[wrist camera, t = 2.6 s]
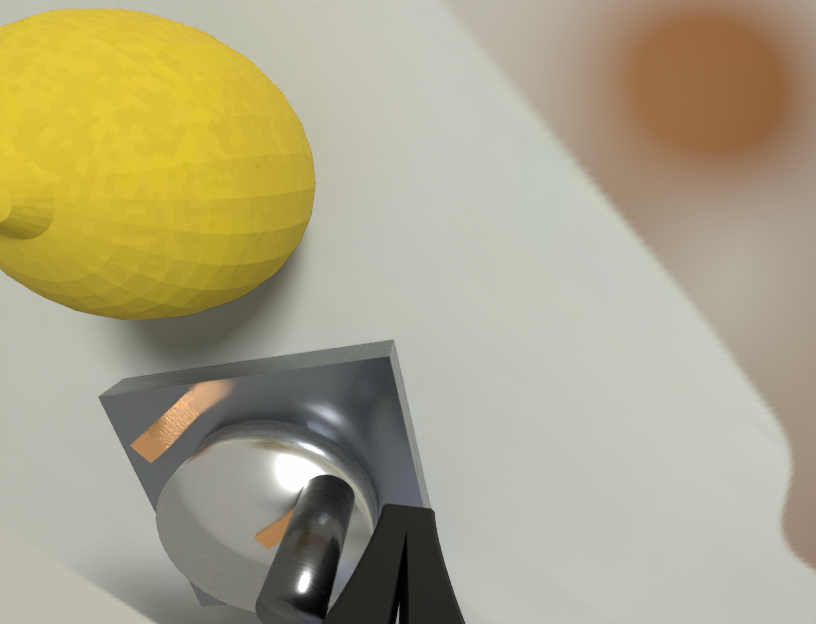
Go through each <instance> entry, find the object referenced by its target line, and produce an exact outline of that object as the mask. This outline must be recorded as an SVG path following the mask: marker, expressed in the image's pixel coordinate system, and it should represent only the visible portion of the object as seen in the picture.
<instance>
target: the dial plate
mask: <svg viewBox="0 0 816 624" xmlns="http://www.w3.org/2000/svg"><path fill="white" fill-rule="evenodd" d="M99 399H100V401H101V403H102V405H103V407H104V409H105V411H106V413H107V416H108V418H109V420H110V422H111V424H112V426H113V428H114V430H115V432H116V434H117V436H118V438H119V440H120V442H121V444H122V446H123V448H124V450H125V452H126V454H127V456H128V458H129V460H130V462H131V464H132V466H133V468H134V470H135V472H136V474H137V476H138V478H139V480H140V482H141V484H142V486H143V488H144V490H145V492H146V494H147V496H148V498H149V500H150V502H151V505H152V507H153V509H154V511H155V513H156V509H157V503H158V500H159V496H160V494H161V492H162V490H163V488H164V486H165V484H166V483H167V482H168V480H169V479H170V478H171V476H172V475H173V474H174V473H175V472H176V470H177V469H178V468H179V467H180V466H181V464H182V463H183V462H184V461H185V460H186V458H187V457H188V456H189V455H190V454H191V452H192V451H193V450H194V449H195V448H196V446H197V445H198V444H199V443H200V442H201V441H202V440H203V439H205V438H206V437H207V436H209V435H210V434H212V433H213V432H215V431H217V430H219V429H221V428H223V427H226V426H229V425H232V424H235V423H239V422H245V421H253V420H273V421H281V422H287V423H292V424H295V425H299V426H303V427H305V428H308V429H310V430H313V431H316V432H318V433H320V434H322V435H323V436H325V437H327V438H329V439H331V440H332V441H334V442H335V443H337V444H338V445H339V446H341V447H342V448H343V449H344V450H346V451H347V452H348V453H349V454H350V455H351V456H352V457H353V458H354V459H355V460H356V461H357V462H358V463H359V464H360V466H361V467H362V469H363V470H364V472H365V473H366V474H367V476H368V478H369V480H370V482H371V484H372V486H373V489H374V492H375V495H376V500H377V505H378V518H377V522H378V519H379V517H380V514H381V510H382V507H383V506H384V505H385V504H387V503H389V504H397V505H406V506H414V507H423V508H431V507H430V503H429V498H428V493H427V489H426V484H425V480H424V475H423V471H422V466H421V462H420V457H419V452H418V448H417V443H416V439H415V434H414V430H413V425H412V420H411V416H410V411H409V407H408V402H407V398H406V393H405V389H404V384H403V379H402V375H401V370H400V366H399V361H398V357H397V352H396V347H395V343H394V340H389V341H383V342H376V343H369V344H362V345H355V346H348V347H341V348H334V349H327V350H320V351H313V352H307V353H300V354H293V355H286V356H279V357H272V358H265V359H258V360H251V361H244V362H237V363H230V364H224V365H217V366H210V367H203V368H196V369H189V370H182V371H175V372H168V373H161V374H154V375H148V376H141V377H134V378H127V379H122V380H121V381H120V382H118V383H117V384H115V385H114V386H113V387H111V388H110V389H108V390H107V391H106V392H104V393H103V394H101V395H100V396H99ZM189 581H190V580H189ZM190 583H191V585H192V587H193V589H194V592H195V594H196V596H197V598H198V600H199V602H200V604H201V606H210V605H226V604H227V603H224V602H222V601H220V600H218V599H216V598H214V597H213V596H211V595H209V594H207V593H206V592H204V591H203V590H201V589H200V588H199V587H197V586H196V585H195V584H193V583H192V582H191V581H190Z"/></svg>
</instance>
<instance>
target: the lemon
mask: <svg viewBox="0 0 816 624" xmlns="http://www.w3.org/2000/svg"><path fill="white" fill-rule="evenodd" d="M315 185H316V182H315V174H314V165H313V156H312V152H311V149H310V146H309V144H308V141H307V138H306V135H305V132H304V129H303V126H302V124H301V122H300V120H299V118H298V117H297V115H296V114H295V112H294V110H293V109H292V107H291V106H290V104H289V102H288V101H287V99H286V98H285V96H284V94H283V93H282V92H281V91H280V89H279V88H278V87H277V86H276V85H275V84H274V83H273V82H272V81H271V80H270V79H269V78H268V77H267V76H266V75H265V74H264V73H263V72H262V71H261V70H260V69H259V68H258V67H257V66H256V65H255V64H254V63H253V62H251V61H250V60H249V59H247V58H246V57H245V56H243V55H242V54H240V53H238V52H237V51H235V50H233V49H232V48H230V47H229V46H227V45H225V44H224V43H222V42H220V41H219V40H217V39H216V38H214V37H212V36H211V35H209V34H207V33H205V32H203V31H201V30H198V29H196V28H193V27H190V26H187V25H184V24H181V23H177V22H174V21H171V20H168V19H164V18H161V17H158V16H155V15H151V14H147V13H143V12H139V11H131V10H123V9H64V10H51V11H48V12H44V13H40V14H37V15H34V16H31V17H28V18H25V19H22V20H19V21H16V22H13V23H10V24H7V25H5V26H2V27H0V269H1V270H2V271H3V272H4V273H5V274H6V275H8V276H10V277H11V278H13V279H14V280H16V281H17V282H19V283H20V284H22V285H24V286H25V287H27V288H28V289H30V290H31V291H33V292H35V293H37V294H39V295H40V296H42V297H44V298H46V299H49V300H51V301H54V302H56V303H59V304H61V305H64V306H66V307H69V308H71V309H74V310H76V311H80V312H84V313H88V314H93V315H99V316H105V317H111V318H116V319H122V320H145V319H158V318H170V317H179V316H185V315H190V314H194V313H198V312H201V311H204V310H207V309H210V308H213V307H216V306H218V305H221V304H224V303H227V302H230V301H233V300H235V299H237V298H240V297H242V296H244V295H245V294H247V293H249V292H250V291H252V290H253V289H254V288H256V287H257V286H258V285H260V284H261V283H263V282H264V281H265V280H267V279H268V278H270V277H271V276H272V275H273V274H275V273H276V272H277V271H278V270H279V269H280V268H281V267H282V265H283V264H284V263H285V261H286V260H287V259H288V258H289V256H290V255H291V254H292V252H293V251H294V250H295V248H296V247H297V246H298V245H299V243H300V241H301V239H302V236H303V234H304V232H305V229H306V227H307V224H308V222H309V219H310V217H311V214H312V208H313V200H314V192H315Z"/></svg>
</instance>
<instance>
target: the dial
mask: <svg viewBox="0 0 816 624" xmlns="http://www.w3.org/2000/svg"><path fill="white" fill-rule="evenodd" d="M377 518H378V505H377V500H376V495H375V492H374V489H373V486H372V484H371V482H370V480H369V478H368V476H367V474H366V473H365V472H364V470H363V469H362V467H361V466H360V464H359V463H358V462H357V461H356V460H355V459H354V458H353V457H352V456H351V455H350V454H349V453H348V452H347V451H346V450H344V449H343V448H342V447H341V446H339V445H338V444H337V443H335V442H334V441H332V440H331V439H329V438H327V437H325V436H323V435H322V434H320V433H318V432H316V431H313V430H310V429H308V428H305V427H303V426H299V425H295V424H292V423H287V422H281V421H273V420H253V421H245V422H239V423H235V424H232V425H229V426H226V427H223V428H221V429H219V430H217V431H215V432H213V433H212V434H210V435H209V436H207V437H206V438H205V439H203V440H202V441H201V442H200V443H199V444H198V445H197V446H196V448H195V449H194V450H193V451H192V452H191V454H190V455H189V456H188V457H187V458H186V460H185V461H184V462H183V463H182V464H181V466H180V467H179V468H178V469H177V470H176V472H175V473H174V474H173V475H172V476H171V478H170V479H169V480H168V482H167V483H166V484H165V486H164V488H163V490H162V492H161V494H160V496H159V500H158V503H157V509H156V523H157V530H158V533H159V537H160V540H161V542H162V545H163V547H164V549H165V551H166V553H167V554H168V556H169V558H170V559H171V561H172V562H173V563H174V564H175V566H176V567H177V568H178V569H179V570H180V571H181V573H182V574H183V575H184V576H185V577H186V578H187V579H189V580H190V581H191V582H192V583H193V584H195V585H196V586H197V587H199V588H200V589H201V590H203V591H204V592H206V593H207V594H209V595H211V596H213V597H214V598H216V599H218V600H220V601H222V602H224V603H227V604H229V605H231V606H234V607H237V608H240V609H243V610H247V611H250V612H254V613H257V616H258V617H259V619H260V620H261V622H262V623H263V624H321V623H322V621H323V620H324V619H325V617H326V614H327V610H328V608H330V607H332V606H333V605H334V603H335V602H336V600H337V598H338V597H339V595H340V594H341V592H342V590H343V589H344V587H345V585H346V584H347V582H348V580H349V579H350V577H351V575H352V573H353V572H354V570H355V568H356V566H357V564H358V562H359V560H360V558H361V557H362V555H363V553H364V551H365V549H366V547H367V545H368V543H369V541H370V538H371V536H372V534H373V532H374V530H375V527H376V525H377Z"/></svg>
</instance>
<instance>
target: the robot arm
mask: <svg viewBox="0 0 816 624" xmlns="http://www.w3.org/2000/svg"><path fill="white" fill-rule="evenodd" d="M398 607H399V624H465V621H464V619H463V616H462V613H461V611H460V608H459V605H458V603H457V600H456V597H455V594H454V591H453V588H452V585H451V582H450V579H449V575H448V572H447V569H446V566H445V562H444V559H443V555H442V551H441V547H440V543H439V538H438V534H437V528H436V522H435V512H434V511H433V510H432V509H431V508H423V507H414V506H406V505H397V504H389V503H387V504H385V505H384V506H383V507H382V510H381V514H380V517H379V519H378V522H377V525H376V527H375V530H374V532H373V534H372V536H371V538H370V541H369V543H368V545H367V547H366V549H365V551H364V553H363V555H362V557H361V558H360V560H359V562H358V564H357V566H356V568H355V570H354V572H353V573H352V575H351V577H350V579H349V580H348V582H347V584H346V585H345V587H344V589H343V590H342V592H341V594H340V595H339V597H338V598H337V600H336V602H335V603H334V605H333V606H332V608H331V609H330V611H329V613H328V614H327V616H326V617H325V619H324V620H323V621H322V623H321V624H396V618H397V612H398Z"/></svg>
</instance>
